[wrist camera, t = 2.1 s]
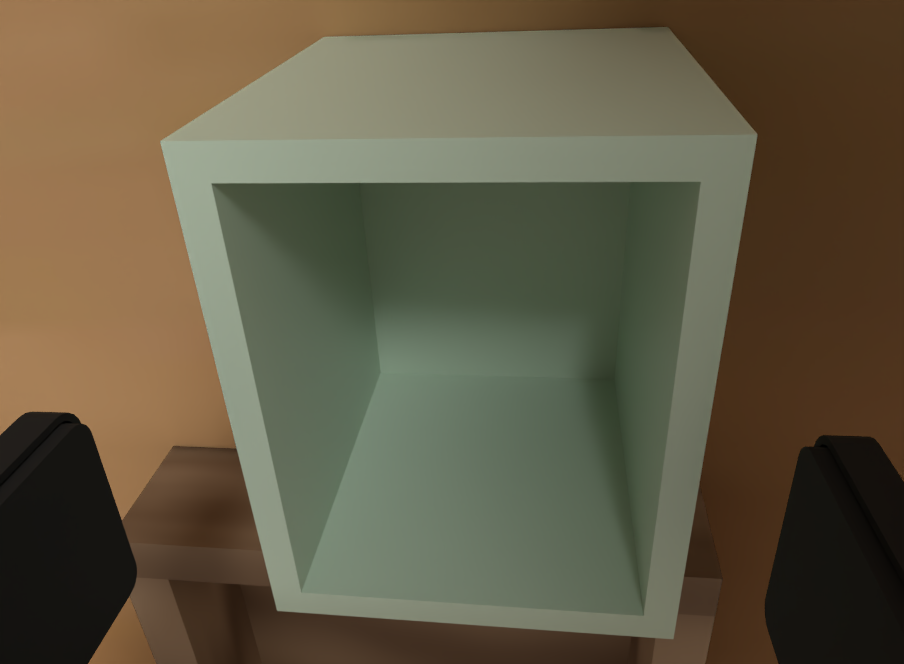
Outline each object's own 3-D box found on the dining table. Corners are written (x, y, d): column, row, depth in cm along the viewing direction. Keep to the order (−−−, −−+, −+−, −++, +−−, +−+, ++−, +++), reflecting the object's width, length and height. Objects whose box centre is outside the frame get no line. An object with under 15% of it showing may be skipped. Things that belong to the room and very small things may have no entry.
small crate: (323, 36, 14) (160, 141, 8) (667, 26, 14) (758, 134, 8) (366, 377, 18) (276, 610, 12) (632, 385, 18) (673, 639, 12)
